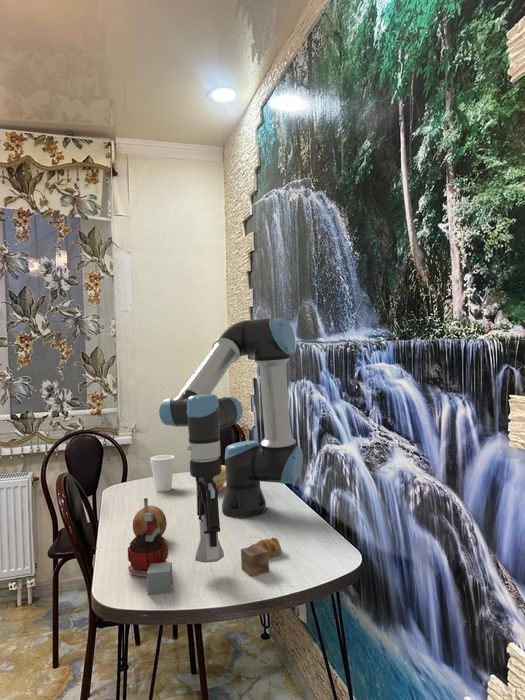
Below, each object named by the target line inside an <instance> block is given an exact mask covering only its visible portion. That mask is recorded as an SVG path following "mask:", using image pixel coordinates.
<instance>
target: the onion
mask: <svg viewBox="0 0 525 700" xmlns="http://www.w3.org/2000/svg"><path fill="white" fill-rule="evenodd" d="M148 513H154V515H155V517H156V519H157V523H158V527H159V529H160V533H159V534H161V536H162V537H163V535H164V534H165V531H166V530H167V529H166V528H167V526H168V525H167V518H166V515H165V513H164V511H163V510H162V509H161V508H159V507H158V506H156V505H148ZM144 516H145V511H144V507H143V508H140V509H139V510H138V511H137V512H136V513H135V516H134V517H133V520H132V531H133V534H134V536H135V537H136V536H137V535H138V534H139V533H140V532H142V531H145V520H144Z"/></svg>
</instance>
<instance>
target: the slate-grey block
mask: <svg viewBox="0 0 525 700" xmlns="http://www.w3.org/2000/svg"><path fill="white" fill-rule="evenodd" d="M173 583H174V581H173V562H172V561H167V562H166V563H152V564H150V566H149V569H148V571H147V576H146V584H147V589H146V591H147V596H154V595H167V594H168V595H169V594H171V592H172V587H173Z"/></svg>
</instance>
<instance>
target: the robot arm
mask: <svg viewBox="0 0 525 700" xmlns="http://www.w3.org/2000/svg"><path fill="white" fill-rule="evenodd" d="M211 347H212V349H211V351H210V352H209V353H208V355H207V356H206V357H205V359H204V360H203V361H202V362H201V363H200V366H199V367H198V368H197V369H196V371H195V372H194V373H193V374H192V375H191V377H190V378H189V379H188V381H187V382H186V384H185V385H184V386H183V387H182V389H181V391H179V393H178V394H177V395H176V397H174V398H173V397H170V398H166V399H164V400H162V402H161V403H160V405H159V409H158V414H159V415H158V416H159V419H160V421H161V422H162V423H163V424H164V425H166V426H172V427H188V429H187V430H188V431H187V432H188V446H187V447H186V450H187V451H189V458H190V461H189V474H190V476H191V477H193V478H195V484H196V509H197V510H196V515H197V516H198V521H199V538H201V535H202V529H203V520H202V516H203V515H205V516H206V525H207V531H204V534H206V545H207V560H208V561H209V560H214V559H219V546H218V540H219V533H220V532H221V527H220V526H221V525H220V524H221V523H220V510H219V508H220V507H219V491H218V489H216V483H214V480H213V478H214V477H215V476H217V475H219V474H220V473H221V465H222V459H221V458H220V457H221V456H222V455H221V453H222V452H221V436H220V430H222V429H224V428H227V427H232V426H233V425H235V424H237V423H239V421H241V419H242V417H243V406H242V404H241V402H240V400H239V399H237V398H235V397H233V396H226V397H225V396H224V397H221V398H219V397H218V396H217V395H216V394H212V393H213V392H214V390H215V388H216V387H217V386H218V384H219V383H220V381H221V380H222V379H223V377H224V375H225V374H226V372H227V371H228V370H229V368H230V367H231V366H232V364H234V363H236V362H237V361H238V360H239V359H240V358H241V357H244V356H253V357H254V363H256V364H257V365H258V366H259V375H260V378H259V379H260V389H261V391H260V392H261V402H262V403H261V404H262V416H263V429H264V432H263V433H264V438H263V439H262V441H261V442H259V440H244V441H239V442H234V443H232V444H229V445H227V446H226V448H225V449H224V450H225V452H224V453H225V454H224V460H225V461H224V463H225V464H224V466H225V468H226V482H225V484H226V485H225V486H226V487H225V488H226V489H225V493H224V497H223V499H222V504H221V512H222V514H223V515H225V516H228V517H233V518H249V517H254V516H255V517H256V516H260V515H261V514H264V513H265V512H266V511H267V502H266V499H265V496H264V494H263V491H262V487H261V482H264V483H266V482H267V483H276V484H277V483H278V484H293V483H295V482H297V480H299V478H300V475H301V474H302V473H301V472H302V469H303V463H304V453H303V450H302V448H301V447H299V446H297V443H296V442H297V441H296V439H295V438H294V437H293V436H292V434H291V424H290V422H291V419H290V410H289V409H290V408H289V393H288V392H289V391H288V379H287V378H288V377H287V366H286V365H287V363H288V362H289V360H290V359H291V355H292V354H293V353H294V352H295V350H296V337H295V332H294V329H293V327H292V325H291V324H290V322H289V321H288V320H287V319H285V318H281V317H279V318H274V317H272V318H263V319H262V318H261V319H251V320H250V319H249V320H242V321H239V322H235V323H234V324H232V325H230V326H229V327H228V328H226V329H225V330H224V331H223V332H222V333H221V334H219V335H218V337H217V338H216V339H215V340H214V342H213V343H212V346H211ZM219 436H220V437H219Z"/></svg>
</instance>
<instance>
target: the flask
mask: <svg viewBox="0 0 525 700" xmlns="http://www.w3.org/2000/svg"><path fill="white" fill-rule="evenodd" d="M202 520H203V529H202V535H201V538H200V537H199V538H200V539H199V543H198V547H197V549H196V552H195V553H196V554H195V557H194V558H195V561H196V562H200V563H206V564H207V563H216V562H219V561H220V560H222V559H223V558H224V557H225V552H224V550H223V547H222V544H221V543H220V540H219V539H218V546H219V559H214V560H209V561H208V560H207V545H206V534H204V531H207V525H206V516H205V515H203V516H202Z"/></svg>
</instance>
